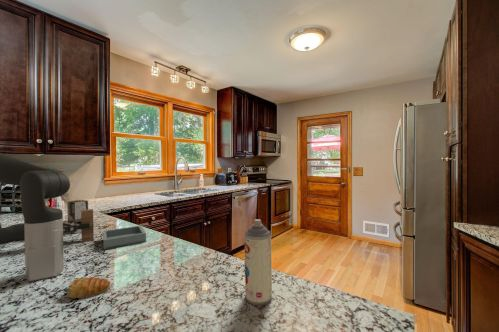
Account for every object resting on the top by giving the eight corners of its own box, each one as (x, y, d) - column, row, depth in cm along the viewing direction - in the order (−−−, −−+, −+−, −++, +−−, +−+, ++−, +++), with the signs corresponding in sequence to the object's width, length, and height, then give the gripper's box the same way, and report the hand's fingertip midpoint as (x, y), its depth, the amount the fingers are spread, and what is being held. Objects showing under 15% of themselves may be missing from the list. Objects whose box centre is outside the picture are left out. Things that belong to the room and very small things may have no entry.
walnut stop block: (93, 240, 105) (92, 210, 105) (81, 242, 102) (81, 211, 102) (93, 238, 109) (93, 209, 108) (82, 239, 106) (81, 210, 106)
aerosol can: (245, 290, 62) (244, 217, 62) (270, 289, 62) (269, 216, 62) (245, 305, 55) (243, 223, 55) (273, 305, 55) (272, 223, 55)
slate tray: (146, 242, 102) (145, 233, 102) (103, 250, 93) (103, 240, 93) (140, 233, 115) (140, 225, 115) (103, 239, 106) (103, 230, 106)
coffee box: (89, 230, 121) (88, 200, 121) (74, 233, 116) (74, 202, 116) (81, 228, 126) (80, 199, 126) (67, 231, 121) (66, 201, 121)
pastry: (113, 283, 67) (113, 270, 67) (105, 296, 60) (104, 282, 60) (77, 288, 65) (76, 275, 64) (63, 302, 58) (63, 287, 58)
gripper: (39, 224, 91) (89, 218, 100) (46, 217, 103) (90, 212, 112) (40, 242, 91) (89, 235, 100) (47, 233, 103) (90, 227, 112)
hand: (89, 223), depth 106 cm, fingers open, 8 cm apart
